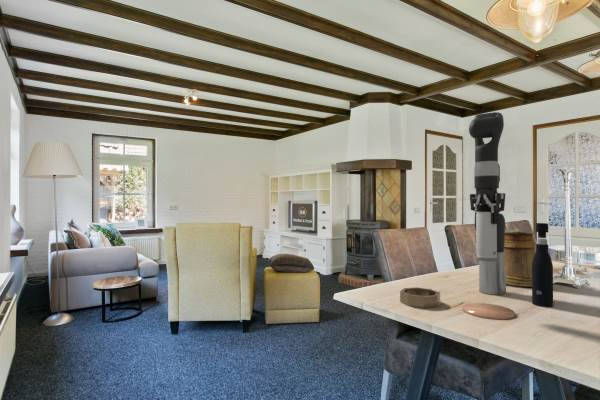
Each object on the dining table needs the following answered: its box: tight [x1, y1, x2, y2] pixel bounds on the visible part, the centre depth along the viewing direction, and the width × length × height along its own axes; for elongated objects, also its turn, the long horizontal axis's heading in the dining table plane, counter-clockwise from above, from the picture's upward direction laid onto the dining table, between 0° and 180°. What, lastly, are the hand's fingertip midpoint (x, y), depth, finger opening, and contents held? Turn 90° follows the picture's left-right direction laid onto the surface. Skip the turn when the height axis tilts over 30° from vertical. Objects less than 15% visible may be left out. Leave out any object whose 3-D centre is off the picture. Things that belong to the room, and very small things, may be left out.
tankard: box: [504, 227, 536, 288], centre depth 167 cm, size 18×24×25 cm
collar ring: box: [399, 287, 441, 309], centre depth 134 cm, size 13×13×4 cm
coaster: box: [461, 302, 516, 321], centre depth 122 cm, size 16×16×1 cm
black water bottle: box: [531, 222, 554, 308], centre depth 131 cm, size 6×6×30 cm
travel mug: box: [475, 203, 497, 261], centre depth 122 cm, size 6×7×20 cm
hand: (486, 223), depth 123 cm, fingers closed on travel mug, 6 cm apart
